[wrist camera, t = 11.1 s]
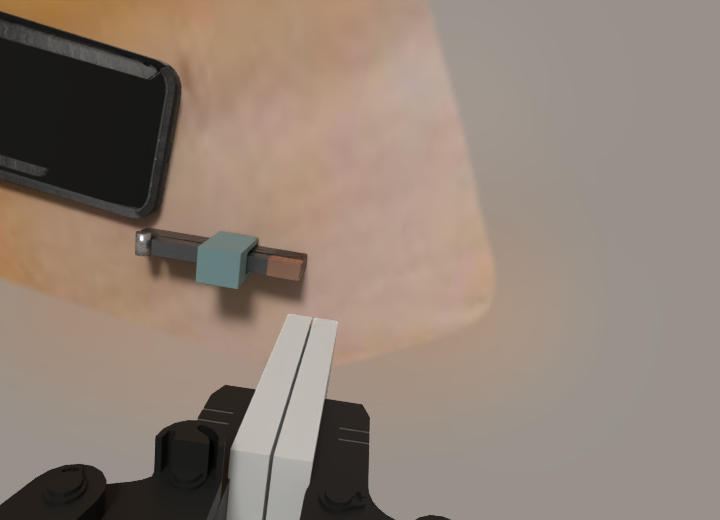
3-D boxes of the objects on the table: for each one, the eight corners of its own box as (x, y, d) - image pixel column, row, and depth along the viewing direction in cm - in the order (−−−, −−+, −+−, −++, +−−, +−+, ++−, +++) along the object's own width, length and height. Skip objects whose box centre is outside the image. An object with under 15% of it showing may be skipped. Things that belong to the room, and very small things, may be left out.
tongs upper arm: (139, 250, 26) (132, 254, 25) (140, 230, 25) (132, 233, 25) (301, 278, 25) (298, 283, 25) (303, 257, 25) (301, 262, 24)
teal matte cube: (217, 263, 27) (195, 282, 24) (219, 231, 26) (197, 246, 23) (254, 269, 27) (237, 289, 24) (258, 237, 26) (240, 253, 23)
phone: (-139, -32, 23) (179, 67, 23) (-116, -25, 24) (188, 68, 24) (-140, 139, 25) (150, 226, 26) (-118, 138, 26) (160, 221, 27)
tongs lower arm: (146, 242, 27) (137, 247, 26) (146, 227, 26) (137, 231, 25) (305, 268, 26) (302, 274, 25) (307, 254, 26) (304, 259, 25)
